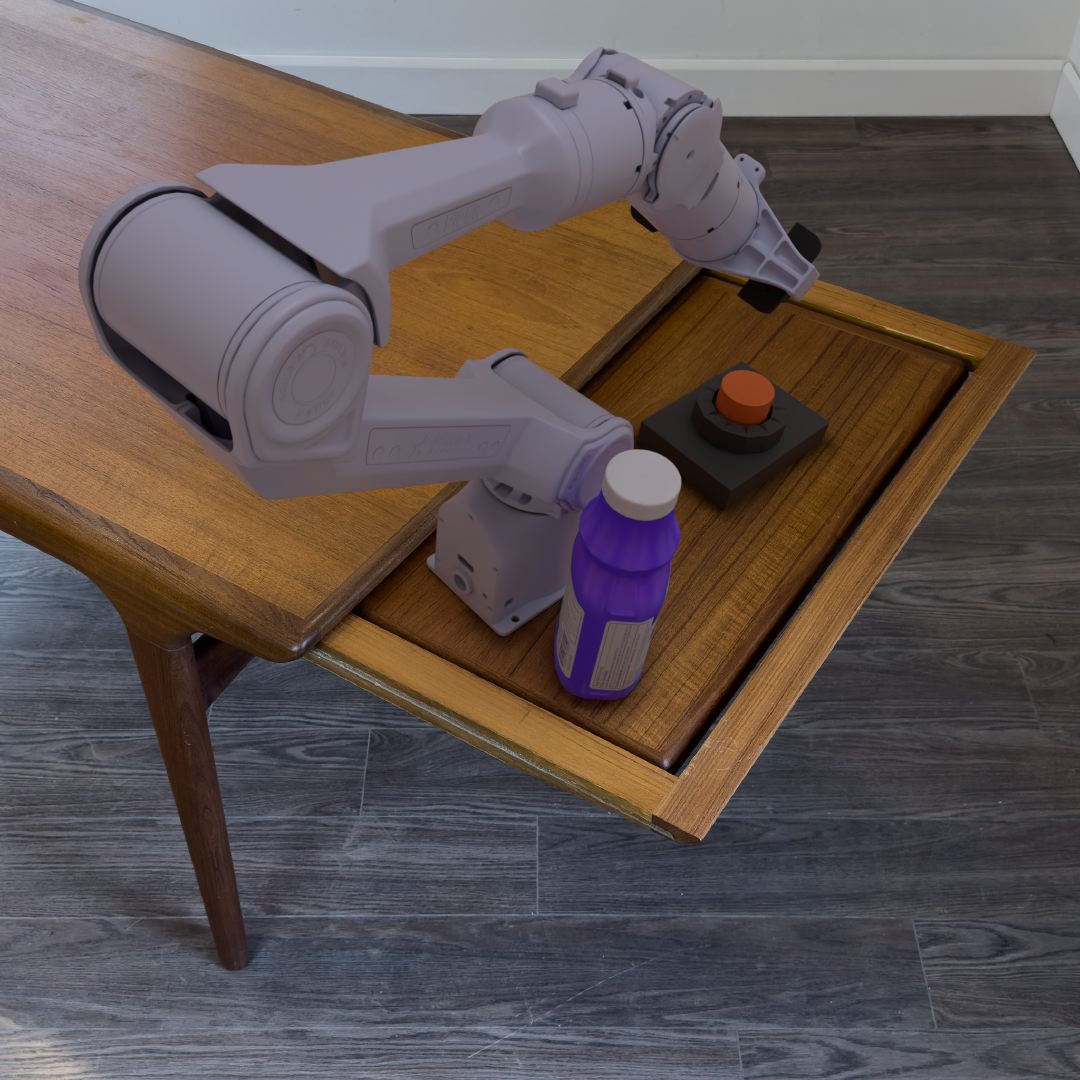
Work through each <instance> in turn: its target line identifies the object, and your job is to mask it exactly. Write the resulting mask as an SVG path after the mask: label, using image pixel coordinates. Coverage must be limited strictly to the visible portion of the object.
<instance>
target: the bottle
mask: <svg viewBox="0 0 1080 1080" xmlns="http://www.w3.org/2000/svg"><path fill="white" fill-rule="evenodd" d="M681 487H682V477H680V474H679V472H678V470H677V468H676V467H675V466H674V464H673V463H672V462H671V461H669V460H668V459H667V458H665V457H664V456H662V455H660V454H658V453H655V452H652V451H648V450H646V449H633V450H628V451H624V452H621V453H619V454H617V455H616V456H614V457H613V458H612V459H611V460H610V462H609V463H608V465H607V467H606V470H605V475H604V478H603V481H602V487H601V491H600V493H599V495H598V496H596V497H595V498H593V499H592V500H590V501H589V503H588V504H587V506H586V507H585V508H584V510H583V512H582V514H581V517H580V521H579V531H578V533H577V535H576V538H575V541H574V544H573V550H572V557H571V566H570V571H569V575H568V580H567V584H566V589H565V593H564V597H563V598H562V603H561V607H560V611H559V614H558V617H557V621H556V624H555V630H554V637H553V659H554V667H555V671H556V675H557V677H558V680H559V682H560V684H561V686H562V687H563V689H564V690H565V691H566V692H568V693H569V694H571V695H574V696H576V697H579V698H582V699H586V700H598V701H613V700H619V699H621V698H624V697H627V696H628V695H629V694H630V693H631V692H633V690H634V688H635V687H636V686H637V684H638V682H639V680H640V679H641V676H642V673H643V666H644V663H645V661H646V657H647V654H648V651H649V648H650V644H651V642H652V638H653V634H654V632H655V629H656V625H657V622H658V619H659V616H660V613H661V610H662V608H663V606H664V603H665V601H666V600H667V596H668V591H669V585H670V579H671V571H672V559H673V558H674V557H675V555H676V553H677V551H678V550H679V549H678V548H679V547H680V541H681V535H682V534H681V530H680V529H681V528H680V524H679V522H678V521H677V519H676V505H677V502H678V498H679V495H680V492H681Z"/></svg>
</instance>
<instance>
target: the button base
mask: <svg viewBox="0 0 1080 1080" xmlns="http://www.w3.org/2000/svg"><path fill="white" fill-rule="evenodd" d="M737 370H747V371H752V372H755V373H758V374H760V375H762V376H764V375H763V374H762V373H761V372H759V371H758V370H756V369H754V368H753V367H752V366H750V365H749V364H747V363H745V361H743V360H741V361H739V362H737V363H735V364H734V365H733V366H731V367H729V368H728V369H725V371H723V372H721V373H719V374H716V375H714V376H713V377H711V378H709V379H708V380H706V381H704V382H702V383H701V384H700V385H699V386H697V387H696V388H694V389H693V390H691V391H689V392H688V393H686V394H685V395H683V396H681V397H680V398H679V397H678V399H676V400H674V401H672V402H671V403H669V404H668V405H666V406H664V407H663V408H661V409H659V410H658V411H657V412H654V413H653V414H651V415H649V416H648V417H646V418H644V419H643V420H641V422H640V425H639V428H638V434H637V436H636V443H637V444H638V445H640V446H641V447H642V448H643V449H644V450H648V451H652V452H655V453H658V454H660V455H662V456H664V457H665V458H667V459H668V460H669V461H671V462H672V463H673V464H674V466H675V467H676V468H677V470H678V472H679V474H680V477H681V479H683V480H684V482H687V483H688V484H689V485H691V486H692V488H694V489H695V490H696V491H698V492H699V493H701V494H702V495H703V496H704V497H706V498H707V499H708V500H709V501H711V502H712V503H713V504H715V506H717V507H718V508H720V509H721V510H722V511H726V510H728V509H730V508H731V507H732V506H734V505H735V504H737V503H738V502H739V501H741V500H742V499H743V498H745V497H746V496H747V495H749V494H751V493H752V492H754V491H755V490H756V489H757V488H759V487H760V486H762V485H763V484H765V483H766V482H767V481H769V480H770V479H772V478H773V477H775V476H776V475H778V474H779V473H780V472H782V471H783V470H784V469H786V468H788V467H789V466H791V465H792V464H793V463H795V462H796V461H798V460H799V459H800V458H802V457H803V456H805V455H807V453H809V452H810V451H812V450H813V449H815V448H816V447H818V446H819V445H820V444H822V442H823V440H824V438H825V436H826V433H827V430H828V428H829V426H830V421H828V420H827V419H826V418H824V417H822V416H821V415H820V414H818V413H817V412H815V411H814V410H813V409H811V408H810V407H808V406H807V405H805V403H803V402H802V401H800V400H798V398H796V397H794V396H793V395H791V394H790V393H788V392H787V391H786V390H784V389H783V388H782V387H780V386H778V385H777V384H776V383H774V382H773V381H772V380H770V379H769V378H767V377H766V376H764V377H765V378H766V379H768V380H769V381H770V383H771V384H772V385H773V387H774V390H775V396H774V398H773V401H772V404H771V407H770V410H769V412H768V415H767V418H766V419H765V420H764V421H763V422H762V423H760V424H758V425H750V426H744V425H740V424H737V423H733V422H730V421H728V420H727V419H726V418H724V417H723V416H722V415H720V414H719V412H718V411H717V408H716V398H717V395H718V392H719V389H720V385H721V382H722V379H723V378H724V377H725V376H726V375H727V374H728V373H730V372H733V371H737Z"/></svg>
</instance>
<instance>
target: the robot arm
mask: <svg viewBox="0 0 1080 1080" xmlns="http://www.w3.org/2000/svg"><path fill="white" fill-rule="evenodd" d="M722 106H723V105H722V102H721V100H720V98H719V97H716V98H715V99H714V100H713V98H711V97H709V96H708V95H707V94H705V92H704V91H702V90H701V89H699V88H696V87H695V86H693V85H690V84H689V83H687V82H684V81H683V80H681V79H679V78H676V77H675V76H673V75H671V74H669V73H666V72H665V71H663V70H661V69H658V68H656V67H654V66H653V65H650V64H649V63H646V62H645V61H643V60H641V59H638V58H636V57H635V56H632V55H630V54H628V53H627V52H619V51H618V50H617V49H614V48H605V47H603V46H599V47H597V48H596V49H594V50H593V51H592V52H591V53H589V54H588V55H587V56H586V57H585V58H584V59H583V60H582V62H580V63H579V65H578V66H577V68H576V69H575V70H574V71H573V73H572V74H571V75H570V76H568V77H566V78H563V79H560V78H559V79H558V78H557V77H554V76H553V77H550V78H544V79H541V80H538V81H536V84H535V89H534V91H533V92H529V93H525V94H522V95H518V96H514V97H509V98H506V99H502V100H499V101H497V102H495V103H494V104H492V105H491V106H490V107H488V108H487V109H486V110H485V111H484V112H483V113H482V115H481V116H480V117H479V119H478V120H477V123H476V124H475V127H474V130H473V133H472V135H471V136H468V137H463V138H462V137H461V138H457V139H451V140H445V141H439V142H435V143H429V144H423V145H417V146H413V147H412V146H411V147H407V148H406V147H405V148H402V149H395V150H390V151H385V152H380V153H373V154H367V155H362V156H356V157H351V158H346V159H341V160H335V161H329V162H323V163H317V164H307V165H306V164H305V165H304V164H303V165H298V164H297V165H296V164H294V165H290V164H263V163H262V164H261V163H260V164H259V163H255V164H254V163H225V162H224V163H218V164H215V165H212V166H210V167H208V168H206V169H203V170H201V171H198V172H196V173H194V174H193V175H192V176H193V177H194V178H195V179H196V180H198V181H199V182H201V183H202V184H204V185H205V186H207V187H208V188H209V189H211V190H213V191H214V192H215V193H214V194H213V195H211V196H208V195H207V194H205V193H204V192H203V191H202V190H201V189H199V188H197V187H196V186H194V185H192V184H190V183H187V182H182V181H178V180H172V179H171V180H169V179H161V180H154V181H153V180H152V181H150V182H146V183H143V184H139V185H138V186H135V187H134V188H131V189H129V190H128V191H126V192H125V193H123V194H121V195H120V196H119V197H117V198H116V199H115V200H114V201H112V203H111V204H109V205H108V206H107V207H106V209H104V211H103V212H102V213H101V214H100V215H99V216H98V218H97V219H96V221H95V222H94V224H93V225H92V226H91V229H90V231H89V232H88V234H87V236H86V238H85V241H84V243H83V247H82V249H81V252H80V257H79V262H78V270H77V271H78V272H77V278H78V288H79V292H80V297H81V299H82V303H83V305H84V308H85V311H86V314H87V317H88V319H89V323H90V325H91V328H92V330H93V333H94V336H95V339H96V341H97V344H98V345H97V346H98V347H99V348H100V350H101V351H102V352H103V354H105V355H106V356H107V357H108V358H109V359H110V360H111V361H113V362H114V363H115V364H116V365H117V366H118V367H119V368H120V369H121V370H122V371H123V372H125V373H126V374H127V375H128V376H129V377H130V378H131V379H132V380H134V382H136V383H137V384H138V385H139V386H140V387H141V388H142V389H143V390H144V391H145V392H146V393H147V394H148V395H149V396H150V397H151V398H152V399H153V400H154V401H155V402H156V403H157V404H158V405H159V406H160V407H161V408H162V409H163V410H164V411H165V412H166V413H167V414H168V415H169V416H170V417H171V418H172V419H173V420H174V421H175V422H176V423H177V424H178V425H179V426H180V427H181V428H182V429H183V430H184V431H185V432H186V433H187V434H188V435H189V436H190V437H191V438H192V439H193V440H194V442H196V443H197V444H198V445H199V446H200V447H201V448H202V449H203V450H204V451H205V452H206V453H207V455H209V456H210V457H211V458H212V460H214V461H215V462H217V463H218V464H220V465H221V466H222V467H223V468H224V469H226V470H227V471H228V472H229V473H230V474H231V475H233V476H234V477H235V478H236V479H238V480H239V482H241V483H243V484H244V485H245V486H246V487H248V489H250V490H251V491H252V492H254V493H255V494H256V495H257V496H258V497H260V498H261V499H265V500H273V501H275V500H276V501H277V500H285V499H296V498H307V497H317V496H325V495H337V494H347V493H348V494H349V493H356V492H358V493H359V492H369V491H378V490H385V489H386V490H387V489H396V488H405V487H406V488H407V487H416V486H417V487H418V486H426V485H438V484H446V483H447V484H448V483H457V482H467V483H466V485H465V486H463V487H462V488H461V490H460V491H458V492H457V493H456V494H455V495H453V496H452V497H450V498H449V499H448V500H447V501H445V502H444V503H443V504H442V505H441V506H440V507H439V509H438V513H437V519H436V521H437V522H436V536H435V537H436V538H435V552H434V553H432V554H431V555H429V556H428V557H427V559H426V567H427V568H428V569H429V570H430V571H431V572H432V573H433V574H434V575H435V576H437V577H438V579H440V580H441V582H443V583H444V584H445V585H446V586H447V587H448V588H449V589H450V590H451V591H452V592H453V593H454V594H455V595H456V596H458V598H459V599H460V600H462V601H463V602H464V603H465V604H466V606H468V607H469V608H470V609H471V610H472V611H473V612H474V613H475V614H476V615H477V616H478V617H479V618H480V619H481V620H483V621H484V622H485V623H486V625H487V626H489V628H491V629H492V630H493V631H494V632H495V633H496V634H497V635H498V636H501V637H508V636H509V635H511V634H512V633H513V632H515V631H516V630H517V629H520V628H521V627H522V626H524V625H525V624H526V623H528V622H530V621H531V620H533V619H534V618H535V617H537V616H538V615H540V614H541V613H543V612H544V611H545V610H547V609H549V608H550V607H552V606H553V605H554V604H556V603H557V602H558V601H560V600H561V599H562V600H563V598H564V593H565V589H566V584H567V580H568V575H569V571H570V566H571V557H572V550H573V544H574V541H575V538H576V535H577V533H578V531H579V521H580V517H581V514H582V512H583V510H584V508H585V507H586V506H587V504H588V503H589V501H590V500H592V499H593V498H595V497H596V496H598V495H599V493H600V491H601V487H602V481H603V478H604V475H605V470H606V467H607V465H608V463H609V462H610V460H611V459H612V458H613V457H614V456H616V455H617V454H619V453H621V452H624V451H628V450H634V448H635V447H634V446H635V441H634V438H635V437H634V436H635V433H634V427H633V425H632V424H631V422H630V421H628V420H626V419H625V418H623V417H622V416H616V415H614V414H612V413H611V412H610V411H608V410H607V409H605V408H603V407H602V406H600V405H599V404H597V403H596V402H594V401H593V400H591V399H590V398H588V397H586V396H585V395H584V394H582V393H580V392H579V391H578V390H575V388H573V387H571V386H570V385H568V384H567V383H565V382H564V381H562V380H561V379H559V378H558V377H556V376H555V375H553V374H552V373H550V372H548V371H547V370H546V369H544V368H542V367H541V366H539V365H538V364H536V363H535V362H533V361H532V360H530V358H529V356H528V355H526V354H525V353H524V352H522V351H521V350H520V349H518V348H515V347H506V348H503V349H500V350H498V351H496V352H494V353H493V354H492V353H491V355H489V356H487V357H484V358H482V359H471V358H469V359H466V360H465V361H464V363H463V364H462V365H461V367H460V368H459V369H458V371H457V372H456V374H455V376H454V377H437V376H436V377H435V376H433V377H432V376H415V375H394V374H371V366H372V361H373V360H372V359H373V351H374V346H375V347H377V348H378V349H383V348H384V347H385V346H386V345H387V344H388V341H389V339H390V334H391V326H392V319H393V318H392V316H393V315H392V314H393V309H392V296H391V285H390V276H391V272H392V271H395V270H396V269H398V268H400V267H402V266H404V265H406V264H408V263H411V262H413V261H414V260H417V259H418V258H420V257H422V256H424V255H427V254H428V253H430V252H433V251H435V250H437V249H439V248H441V247H442V246H445V245H448V244H449V243H451V242H453V241H455V240H457V239H459V238H461V237H463V236H465V235H468V234H469V233H471V232H474V231H475V230H477V229H479V228H481V227H483V226H485V225H488V224H491V223H492V222H494V221H495V220H498V221H499V222H501V223H502V224H503V225H505V226H507V227H508V228H511V229H512V230H513V229H514V230H516V231H520V232H525V233H533V232H540V231H542V230H544V229H547V228H549V227H553V226H555V225H559V224H561V223H563V222H566V221H568V220H570V219H573V218H575V217H578V216H581V215H583V214H585V213H590V212H591V211H594V210H596V209H600V208H602V207H604V206H606V205H609V204H611V203H615V202H617V201H620V200H622V199H625V200H626V201H628V203H629V205H630V209H629V213H630V216H631V217H632V219H633V220H634V221H635V222H636V223H638V224H639V225H641V226H642V227H643V228H644V229H646V230H648V231H649V232H650V233H658V232H659V233H660V234H661V235H662V236H663V237H664V238H665V239H666V241H667V242H668V244H669V246H670V247H671V248H672V250H673V251H674V252H675V253H676V254H677V255H678V256H679V257H680V258H681V259H682V260H684V261H685V262H687V263H689V264H691V265H693V266H696V267H699V268H702V269H703V268H704V269H707V270H711V271H716V272H719V273H724V274H727V275H731V276H735V277H739V278H743V279H747V281H746V282H745V283H744V285H743V287H742V288H741V289H740V290H739V291H738V293H737V295H736V296H737V297H738V298H740V299H741V300H742V301H744V302H745V303H746V304H748V305H749V306H750V307H752V308H753V309H754V310H755V311H757V312H759V313H762V314H764V315H771V314H772V313H773V312H774V311H775V310H776V309H778V307H779V306H780V305H781V304H785V303H788V301H789V300H790V299H791V298H792V299H793V300H795V301H796V302H801V301H802V300H803V298H804V297H805V296H806V295H807V293H808V292H809V291H810V289H811V288H812V287H813V286H814V285H815V283H816V281H818V279H819V278H820V277H821V274H820V272H819V271H818V270H817V268H816V267H815V265H814V264H813V262H814V261H815V260H816V259H817V258H818V256H819V255H820V253H821V252H822V249H823V245H822V241H821V239H820V238H819V236H818V234H816V233H815V232H813V231H811V230H810V229H809V228H807V227H806V226H804V225H803V224H801V223H800V222H798V221H797V222H795V224H793V225H792V228H791V229H790V230H789V231H788V233H786V231H785V229H784V228H783V225H781V222H780V221H779V219H778V218H777V217H776V215H775V213H774V212H773V210H772V208H771V207H770V205H769V204H768V202H767V201H766V199H765V197H764V196H763V194H762V192H761V190H760V184H761V183H762V182H763V180H764V179H765V177H766V169H765V167H764V166H763V165H762V164H761V163H760V162H759V161H757V160H756V159H754V158H753V157H751V156H750V155H748V154H747V153H738V154H737V155H735V156H734V158H733V157H732V155H731V154H730V152H729V151H728V149H727V148H726V147H725V145H724V144H723V142H722V141H721V131H722V127H723V126H722V125H723V117H724V116H723V107H722ZM513 620H516V621H513Z"/></svg>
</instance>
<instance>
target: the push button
mask: <svg viewBox="0 0 1080 1080" xmlns="http://www.w3.org/2000/svg"><path fill="white" fill-rule="evenodd" d="M760 374H761V373H760ZM760 374H758V373H755V372H752V371H747V370H737V371H733V372H730V373H728V374H727V375H726V376H725V377H724V378H723V379H722V382H721V385H720V389H719V392H718V395H717V398H716V408H717V411H718V412H719V414H720V415H722V416H723V417H724V418H726V419H727V420H728V421H730V422H733V423H737V424H740V425H744V426H750V425H758V424H760V423H762V422H763V421H764V420H765V419H766V418H767V415H768V412H769V410H770V407H771V404H772V401H773V398H774V396H775V390H774V387H773V385H772V384H771V383H770V381H771V380H770V379H769V378H767V377H766V376H764V375H763V374H761V375H760ZM762 375H763V376H762ZM765 377H766V378H767V379H766V378H765ZM768 379H769V380H770V381H769V380H768Z"/></svg>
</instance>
